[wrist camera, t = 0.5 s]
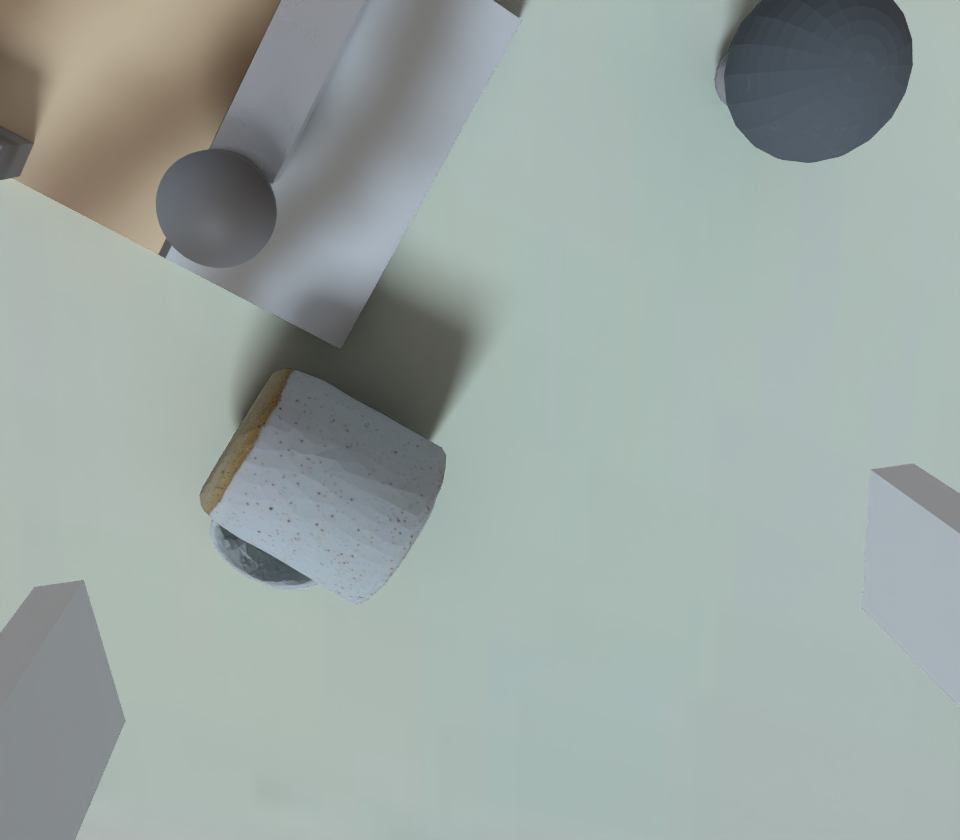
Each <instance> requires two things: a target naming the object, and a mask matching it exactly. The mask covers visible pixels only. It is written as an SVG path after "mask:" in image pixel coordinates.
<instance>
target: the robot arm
mask: <svg viewBox="0 0 960 840" xmlns="http://www.w3.org/2000/svg"><path fill="white" fill-rule="evenodd" d="M862 609H863V610H864V611H865V612H866V613H867V614H868V615H869V616H870V617H871V618H872V619H873V621H874V622H875V623H876V624H877V625H878V626H879V627H880V628H881V629H882V630H883V631H884V632H885V633H886V634H887V635H888V636H889V637H890V638H891V639H892V640H893V641H894V642H895V643H896V644H897V645H898V646H899V647H900V648H901V649H902V650H903V651H904V652H905V653H906V654H907V655H908V656H909V657H910V658H911V659H912V660H913V661H914V662H915V663H916V664H917V665H918V666H919V667H920V668H921V669H922V670H923V671H924V672H925V674H926V675H927V676H928V677H929V678H930V679H931V680H932V681H933V682H934V683H935V684H936V685H937V686H938V687H939V688H940V689H941V690H942V691H943V692H944V693H945V694H946V695H947V696H948V697H949V698H950V699H951V700H952V701H953V702H954V703H955V704H956V705H957V706H958V707H959V708H960V493H958V492H956V491H955V490H953V489H952V488H950V487H949V486H947V485H946V484H944V483H943V482H941V481H939V480H938V479H936V478H935V477H933V476H932V475H930V474H929V473H927V472H926V471H924V470H923V469H921V468H919V467H918V466H916V465H915V464H907V465H900V466H893V467H886V468H879V469H872V470H871V471H870V487H869V503H868V519H867V535H866V551H865V567H864V583H863V599H862ZM124 723H125V718H124V714H123V711H122V707H121V704H120V701H119V697H118V694H117V691H116V687H115V684H114V681H113V677H112V674H111V670H110V667H109V664H108V660H107V657H106V654H105V650H104V647H103V643H102V640H101V637H100V633H99V630H98V627H97V623H96V620H95V617H94V613H93V610H92V606H91V603H90V600H89V596H88V593H87V590H86V586H85V583H84V580H81V581H74V582H67V583H60V584H53V585H46V586H39V587H34V588H33V590H32V591H31V593H30V594H29V595H28V597H27V598H26V599H25V601H24V602H23V603H22V605H21V606H20V607H19V609H18V610H17V612H16V613H15V614H14V616H13V617H12V618H11V620H10V621H9V622H8V624H7V625H6V626H5V628H4V629H3V630H2V632H1V633H0V840H75V838H76V836H77V834H78V831H79V829H80V827H81V824H82V822H83V820H84V817H85V815H86V812H87V810H88V808H89V805H90V803H91V801H92V798H93V796H94V794H95V791H96V789H97V787H98V784H99V782H100V779H101V777H102V775H103V772H104V770H105V768H106V765H107V763H108V761H109V758H110V756H111V753H112V751H113V749H114V746H115V744H116V742H117V739H118V737H119V735H120V732H121V730H122V728H123V725H124Z"/></svg>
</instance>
